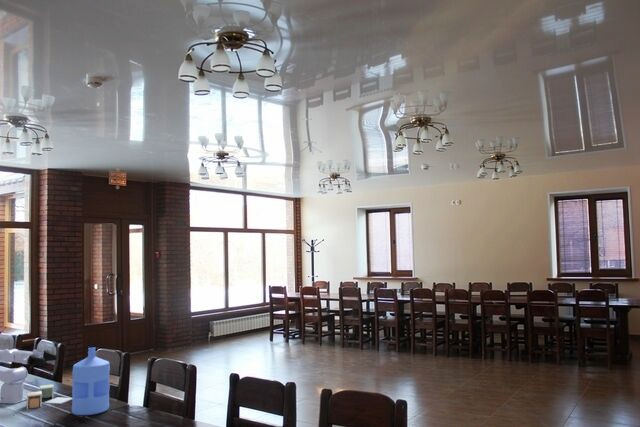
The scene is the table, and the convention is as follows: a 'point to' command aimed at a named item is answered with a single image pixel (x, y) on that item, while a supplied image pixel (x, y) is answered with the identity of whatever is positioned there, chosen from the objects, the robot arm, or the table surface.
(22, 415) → the table surface
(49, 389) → the sage green cube
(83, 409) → the water jug
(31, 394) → the tan framed cube
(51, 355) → the robot arm
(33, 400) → the terracotta cube
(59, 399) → the blue-grey mat
